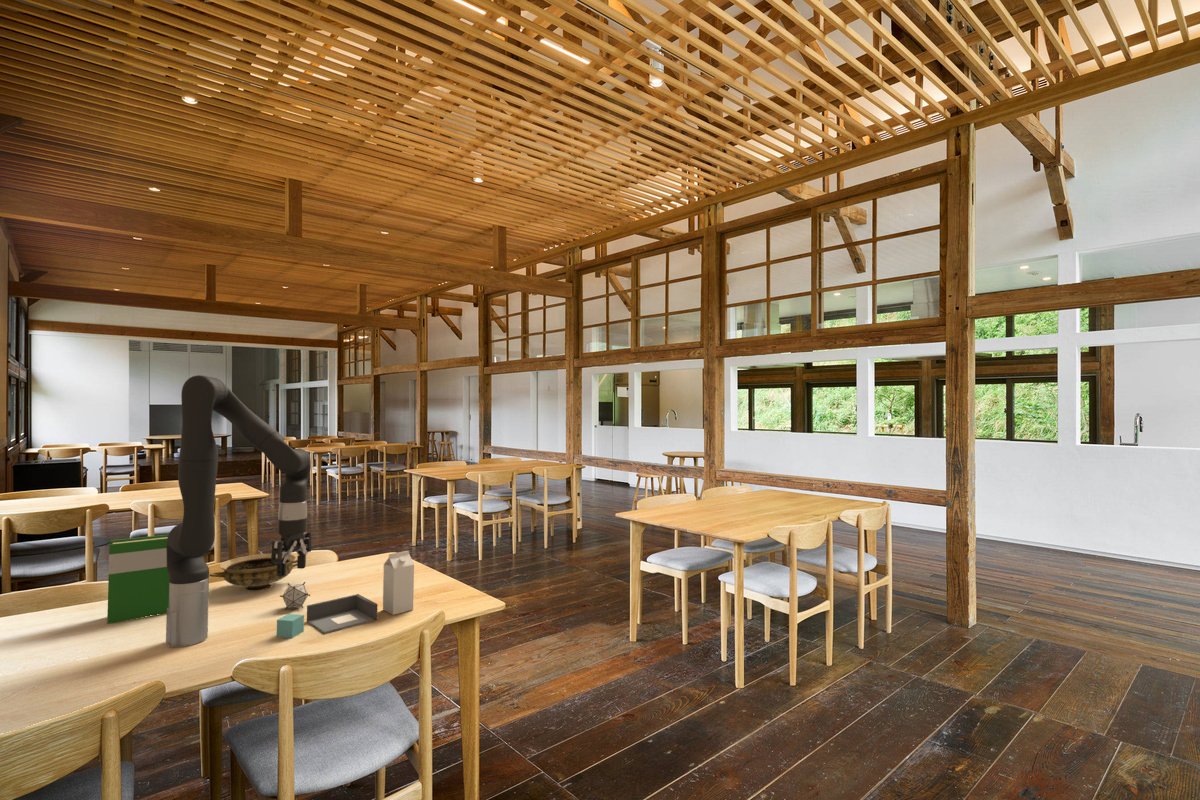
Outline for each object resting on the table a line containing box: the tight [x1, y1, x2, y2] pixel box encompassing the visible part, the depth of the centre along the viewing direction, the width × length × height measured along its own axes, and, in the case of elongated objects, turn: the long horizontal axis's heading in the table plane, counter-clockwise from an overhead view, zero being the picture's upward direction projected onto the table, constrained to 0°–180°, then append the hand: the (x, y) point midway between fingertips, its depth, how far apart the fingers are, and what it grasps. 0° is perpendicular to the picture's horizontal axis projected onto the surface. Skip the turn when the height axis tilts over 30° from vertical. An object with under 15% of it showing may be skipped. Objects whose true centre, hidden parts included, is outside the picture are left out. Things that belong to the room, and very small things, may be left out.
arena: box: [306, 593, 378, 635], centre depth 179 cm, size 16×14×5 cm
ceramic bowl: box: [209, 552, 297, 592], centre depth 211 cm, size 30×24×10 cm
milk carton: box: [382, 550, 415, 615], centre depth 189 cm, size 7×7×19 cm
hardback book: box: [106, 534, 169, 625], centre depth 183 cm, size 18×7×24 cm, turn 130°
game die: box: [279, 581, 311, 611], centre depth 190 cm, size 9×8×10 cm
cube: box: [276, 613, 305, 639], centre depth 168 cm, size 5×5×5 cm
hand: (291, 572), depth 168 cm, fingers open, 8 cm apart
